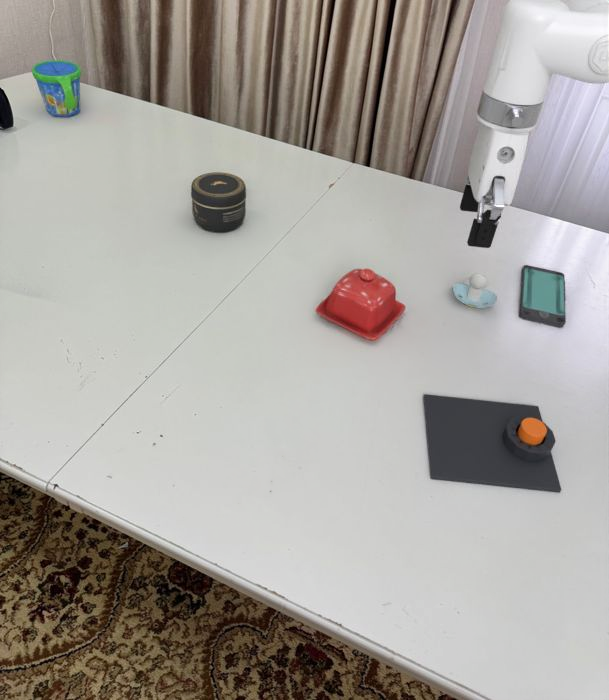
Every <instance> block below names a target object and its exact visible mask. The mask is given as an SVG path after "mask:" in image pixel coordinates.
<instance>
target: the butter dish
mask: <svg viewBox="0 0 609 700" xmlns="http://www.w3.org/2000/svg"><path fill="white" fill-rule="evenodd" d="M396 295H397V291H396V287H395V285H394V284H393V283H392V282H390V281H389V280H388V279H387V278H385V277H383V276H381V275H380V274H377V273H376V272H375V271H374V270H373V269H370V268H354V269H352V270H350V271H348V272H347V273H346V274H345V275H343V276H342V277H341V278H340V279H339V280H338V281H337V282H336V284H335V285H334V287H333V288H332V290H331V292H330V294H329V295H328V296H326V297H325V298H324V299H323V300H322V301H321V303H319V304H318V306H317V307H316V308H315V312H316V314H317V315H319V316H320V317H322V318H324V319H327V320H329V321H330V322H333V323H335V324H336V325H338V326H341V327H343V328H345V329H347V330H349V331H351V332H352V333H354V334H357V336H360V337H363V338H365V339H368V340H370V341H376V340H378V339H379V338H381V337H382V336H383V335H384V334H385V333H386V332H387V330H388V329H390V327H391V326H392V325H393V324H394V323H395V322H396V321H398V319H399V318H400V316H401V315H402V314H404V311H405V310H406V305H405V304H404V303H403V302H400V301H399V300H396V299H397V298H396Z"/></svg>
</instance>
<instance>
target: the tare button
mask: <svg viewBox="0 0 609 700" xmlns="http://www.w3.org/2000/svg"><path fill="white" fill-rule="evenodd" d="M543 422H544V421H543ZM543 422H541V421H540V420H538V419H535V418H526V419H524V420H523V421H522V423H521V425H520V427H519V429H518V436H519V438H520V439H521V440H522V441H523V442H525V443H527V444H529V445H538V444H540V443H541V442H542V441H543V439H544V437H545V435H546V433H547V428H546V426H545V425H544V423H545V422H544V423H543Z"/></svg>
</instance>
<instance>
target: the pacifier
mask: <svg viewBox="0 0 609 700" xmlns="http://www.w3.org/2000/svg"><path fill="white" fill-rule="evenodd" d="M468 283H469V285H468V284H464V283H460V282H458V283H454V285H452V293H453V296H454V297H455V299H456V300H458V301H459V302H460V303H462V304H464V305H465V306H468V307H471V308H479V309H484V308H486V309H487V308H489V307H491V306H493V305H495V304H496V302H497V301H498V296H497V295H496V293H495V292H492V291H489V290H486V289H485V288H486V287H487V286H488V285H489V279H488V277H487V276H486V275H485V274H482V273H477V272H476V273H473V274H471V275H470V277H469V278H468Z"/></svg>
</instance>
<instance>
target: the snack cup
mask: <svg viewBox="0 0 609 700" xmlns="http://www.w3.org/2000/svg"><path fill="white" fill-rule="evenodd" d="M81 70H82V69H81V67H80V65H78V64H77V63H75V62H73V61H67V60H60V59H59V60H58V59H57V60H46V61H41V62H38V63H36V64H34V65H33V66H32V68H31V72H32V73H31V74H32V76H33V78H34V79H35V81H36V84H37V87H38V89H39V93H40V96H41V98H42V101H43V104H44V106H45V109H46V111H47V113H49V114H51V115H52V116H53V117H59V118H60V117H61V118H67V117H73V116H75V115H77V114H78V113H80V111H81V84H80V83H81V76H82V71H81Z"/></svg>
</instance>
